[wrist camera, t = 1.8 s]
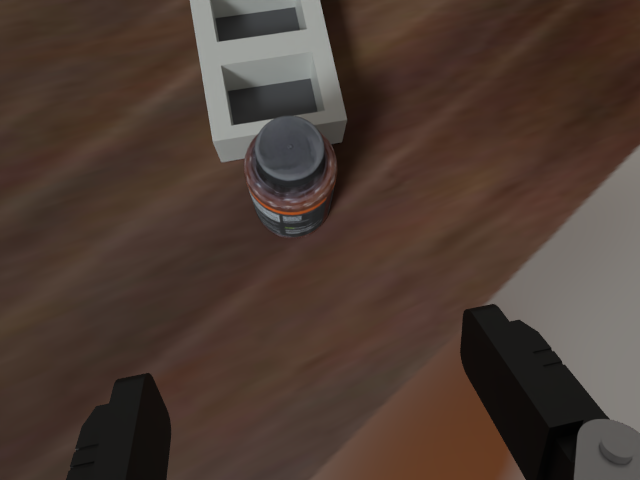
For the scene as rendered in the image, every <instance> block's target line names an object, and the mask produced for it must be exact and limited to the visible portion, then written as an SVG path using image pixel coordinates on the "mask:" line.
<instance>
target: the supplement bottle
mask: <svg viewBox="0 0 640 480" xmlns="http://www.w3.org/2000/svg"><path fill="white" fill-rule="evenodd" d="M244 174H245V179H246V182H247V185H248V188H249V191H250V194H251V197H252V200H253V203H254V206H255V209H256V212H257V215H258V217H259V219H260V220H261V222H262V223H263V225H264V226H265V227H266V228H267V229H268V230H270V231H271V232H272V233H274V234H276V235H278V236H280V237H285V238H301V237H305V236H307V235H310V234H312V233H313V232H315V231H316V230H317V229H318V228H319V227H320V226H321V225H322V224H323V223H324V221H325V219H326V218H327V216H328V213H329V210H330V206H331V202H332V196H333V192H334V187H335V183H336V178H337V159H336V155H335V152H334V149H333V147H332V145H331V144H330V142H329V141H328V139H327V138H326V137H325V136H324V135H323V134H322V133H321V132H320V131H319V130H318V129H317V128H316V127H315V126H314V125H313V124H312V123H311V122H309V121H308V120H305V119H304V118H301V117H298V116H281V117H278V118H275V119H273V120H271V121H270V122H268V123H267V124H266V125H264V127H263V128H262V129H261V130H260V132H259V133H258V134H257V135H256V136H255V138H254V139H253V140H252V142H251V143H250V145H249V147H248V149H247V152H246V155H245V159H244Z"/></svg>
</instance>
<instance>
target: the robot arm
mask: <svg viewBox="0 0 640 480" xmlns="http://www.w3.org/2000/svg"><path fill="white" fill-rule="evenodd" d="M460 353H461V360H462V364H463V367H464V370H465V372H466V374H467V376H468V378H469V380H470V382H471V383H472V385H473V387H474V389H475V390H476V392H477V394H478V396H479V398H480V399H481V401H482V403H483V405H484V407H485V408H486V410H487V412H488V413H489V415H490V417H491V419H492V420H493V422H494V424H495V426H496V428H497V429H498V431H499V433H500V435H501V437H502V438H503V440H504V442H505V444H506V445H507V447H508V449H509V451H510V452H511V454H512V456H513V458H514V460H515V461H516V463H517V465H518V467H519V468H520V470H521V472H522V474H523V476H524V477H525V479H526V480H640V433H639V432H637V431H636V430H634V429H633V428H631V427H630V426H627V425H625V424H623V423H620V422H617V421H614V420H610V419H609V418H608V417H607V416H606V415H605V413H604V412H603V411H602V410H601V409H600V407H599V406H598V405H597V404H596V403H595V401H594V400H593V399H592V398H591V396H590V395H589V394H588V393H587V391H586V390H585V389H584V388H583V386H582V385H581V384H580V383H579V382H578V380H577V379H576V378H575V377H574V376H573V374H572V373H571V372H570V370H569V369H568V368H567V367H566V366H565V365H563V364H562V361H561V359H560V358H559V357H558V356H557V354H556V353H555V352H554V351H552V350H551V347H550V346H549V345H548V344H547V342H546V341H545V340H544V339H543V337H542V336H541V335H540V334H539V332H537V331H536V330H534V329H533V328H531V327H530V326H528V325H527V324H525V323H524V322H522V321H520V320H516V321H511V322H509V320H508V319H507V318H506V316H505V315H504V314H503V312H502V311H501V310H500V309H499V307H498V306H496V305H494V304H491V305H486V306H481V307H476V308H471V309H466V310H465V311H464V313H463V323H462V337H461V350H460ZM170 442H171V423H170V417H169V414H168V411H167V408H166V406H165V404H164V402H163V399H162V397H161V395H160V393H159V390H158V388H157V386H156V384H155V381H154V379H153V377H152V375H151V374H150V373H146V374H141V375H136V376H131V377H126V378H121V379H117V380H116V381H115V383H114V386H113V390H112V394H111V398H110V402H109V404H105V405H100V406H96V407H95V409H94V410H93V412H92V413H91V415H90V416H89V417H88V419H87V420H86V422H85V423H84V424H83V426H82V428H81V431H80V435H79V438H78V441H77V445H76V448H75V449H76V452H75V453H74V455H73V458H72V462H71V465H70V468H71V470H70V471H69V472H68V475H67V478H66V480H166V478H167V469H168V460H169V451H170Z"/></svg>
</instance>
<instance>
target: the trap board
mask: <svg viewBox="0 0 640 480" xmlns="http://www.w3.org/2000/svg"><path fill="white" fill-rule="evenodd" d="M190 4H191V10H192V17H193V23H194V29H195V35H196V41H197V47H198V53H199V60H200V66H201V72H202V78H203V84H204V90H205V96H206V103H207V109H208V115H209V121H210V127H211V133H212V139H213V143H214V146H215V148H216V150H217V153H218V155H219V158H220V160H221V162H226V161H232V160H238V159H244V158H245V155H246V152H247V149H248V147H249V145H250V143H251V142H252V140H253V139H254V138H255V136H256V135H257V134H258V133H259V132H260V130H261V129H262V128H263V127H264V125H266V124H267V123H268V122H270V121H271V120H273V119H275V118H278V117H281V116H298V117H301V118H304V119H305V120H308V121H309V122H311V123H312V124H313V125H314V126H315V127H316V128H317V129H318V130H319V131H320V132H321V133H322V134H323V135H324V136H325V137H326V138H327V139H328V141H329V142H330V144H335V143H341V142H342V140H343V136H344V132H345V127H346V123H347V117H346V112H345V108H344V103H343V99H342V95H341V90H340V86H339V82H338V77H337V73H336V68H335V64H334V60H333V55H332V51H331V47H330V42H329V38H328V33H327V29H326V25H325V20H324V16H323V12H322V7H321V3H320V0H190Z"/></svg>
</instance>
